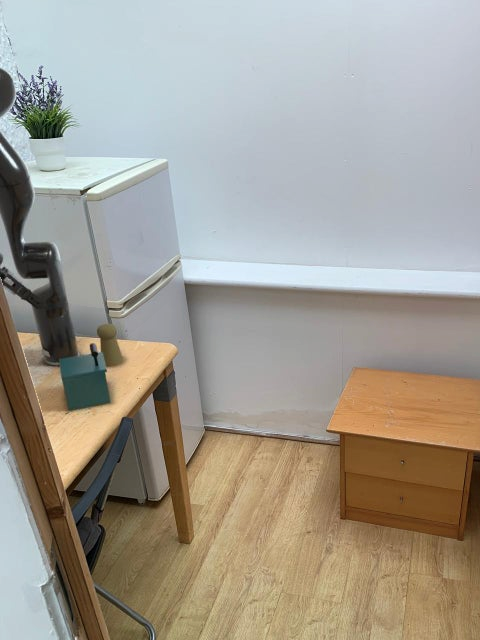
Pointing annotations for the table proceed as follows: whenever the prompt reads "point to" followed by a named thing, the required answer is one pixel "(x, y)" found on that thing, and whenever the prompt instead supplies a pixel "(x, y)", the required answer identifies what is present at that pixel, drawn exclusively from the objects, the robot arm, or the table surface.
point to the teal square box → (86, 391)
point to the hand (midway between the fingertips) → (35, 301)
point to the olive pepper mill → (109, 345)
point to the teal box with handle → (83, 364)
